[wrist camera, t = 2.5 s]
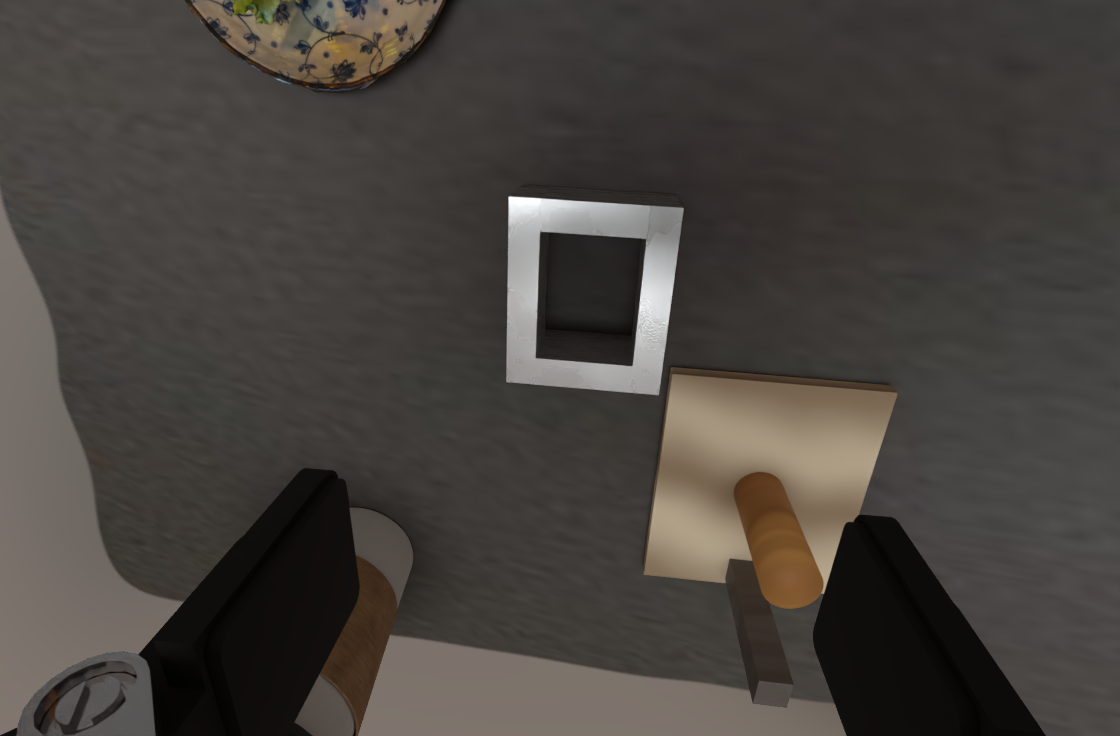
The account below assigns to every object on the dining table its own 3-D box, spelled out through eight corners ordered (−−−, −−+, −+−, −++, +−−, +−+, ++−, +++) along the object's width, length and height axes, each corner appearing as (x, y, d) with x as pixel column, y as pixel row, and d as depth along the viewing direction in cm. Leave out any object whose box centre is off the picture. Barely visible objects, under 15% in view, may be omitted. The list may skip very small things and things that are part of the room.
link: (523, 184, 25) (508, 196, 22) (675, 194, 24) (683, 208, 21) (519, 350, 28) (506, 381, 25) (654, 361, 28) (658, 394, 24)
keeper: (671, 366, 28) (689, 460, 20) (890, 385, 27) (990, 488, 20) (643, 564, 32) (650, 696, 25) (828, 583, 32) (889, 724, 25)
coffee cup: (375, 465, 31) (187, 739, 18) (463, 574, 34) (359, 887, 20) (264, 521, 34) (23, 802, 20) (354, 620, 36) (196, 927, 23)
